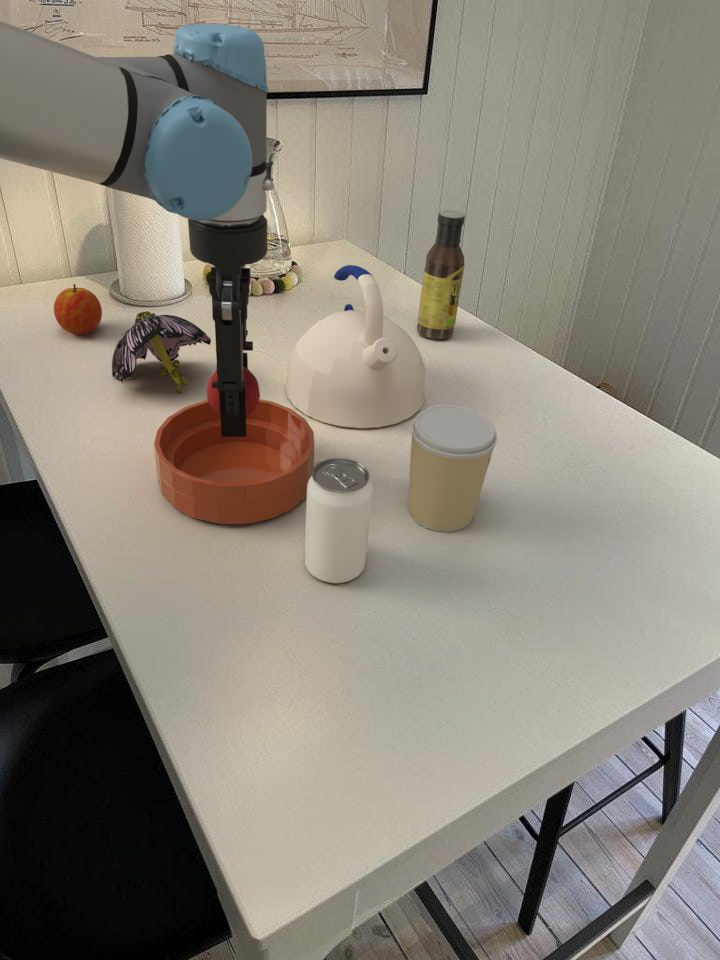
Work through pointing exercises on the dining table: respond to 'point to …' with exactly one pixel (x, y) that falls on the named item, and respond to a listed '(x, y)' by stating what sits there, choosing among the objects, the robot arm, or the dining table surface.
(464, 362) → the dining table surface
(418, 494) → the coffee cup
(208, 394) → the onion
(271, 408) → the bowl
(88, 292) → the fruit
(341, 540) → the can
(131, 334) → the purple butterfly
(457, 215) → the sauce bottle
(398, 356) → the kettle
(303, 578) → the dining table surface
